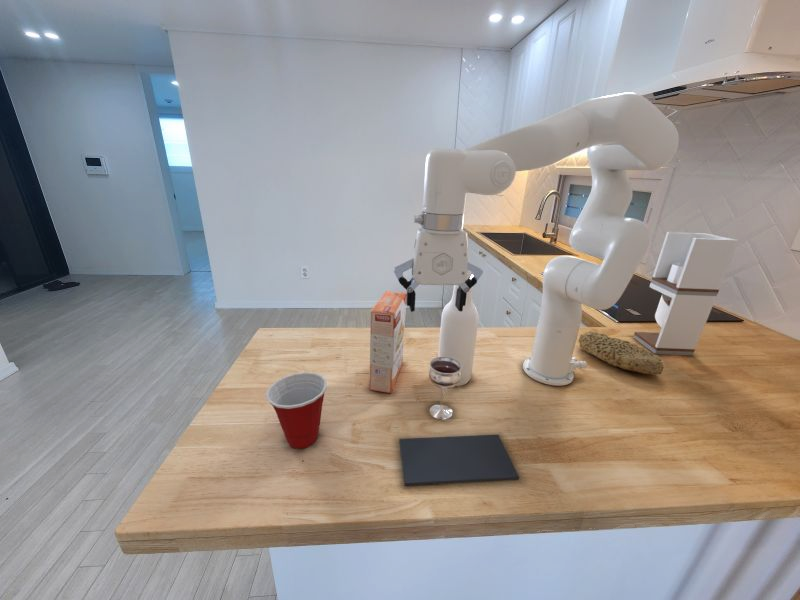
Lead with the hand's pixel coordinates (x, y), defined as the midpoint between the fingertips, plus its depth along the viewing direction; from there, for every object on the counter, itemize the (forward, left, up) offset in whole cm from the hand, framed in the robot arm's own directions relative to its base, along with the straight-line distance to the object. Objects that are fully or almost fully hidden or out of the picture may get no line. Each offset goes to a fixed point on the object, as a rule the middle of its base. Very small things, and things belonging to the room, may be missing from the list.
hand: (435, 308), depth 68 cm
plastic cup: (+26, +9, -24) cm, 37 cm away
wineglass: (-3, +3, -24) cm, 24 cm away
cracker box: (+8, -11, -24) cm, 28 cm away
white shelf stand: (-80, -24, -24) cm, 86 cm away
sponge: (-58, -15, -24) cm, 64 cm away
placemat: (-3, +16, -24) cm, 28 cm away
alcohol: (-9, -10, -24) cm, 27 cm away
